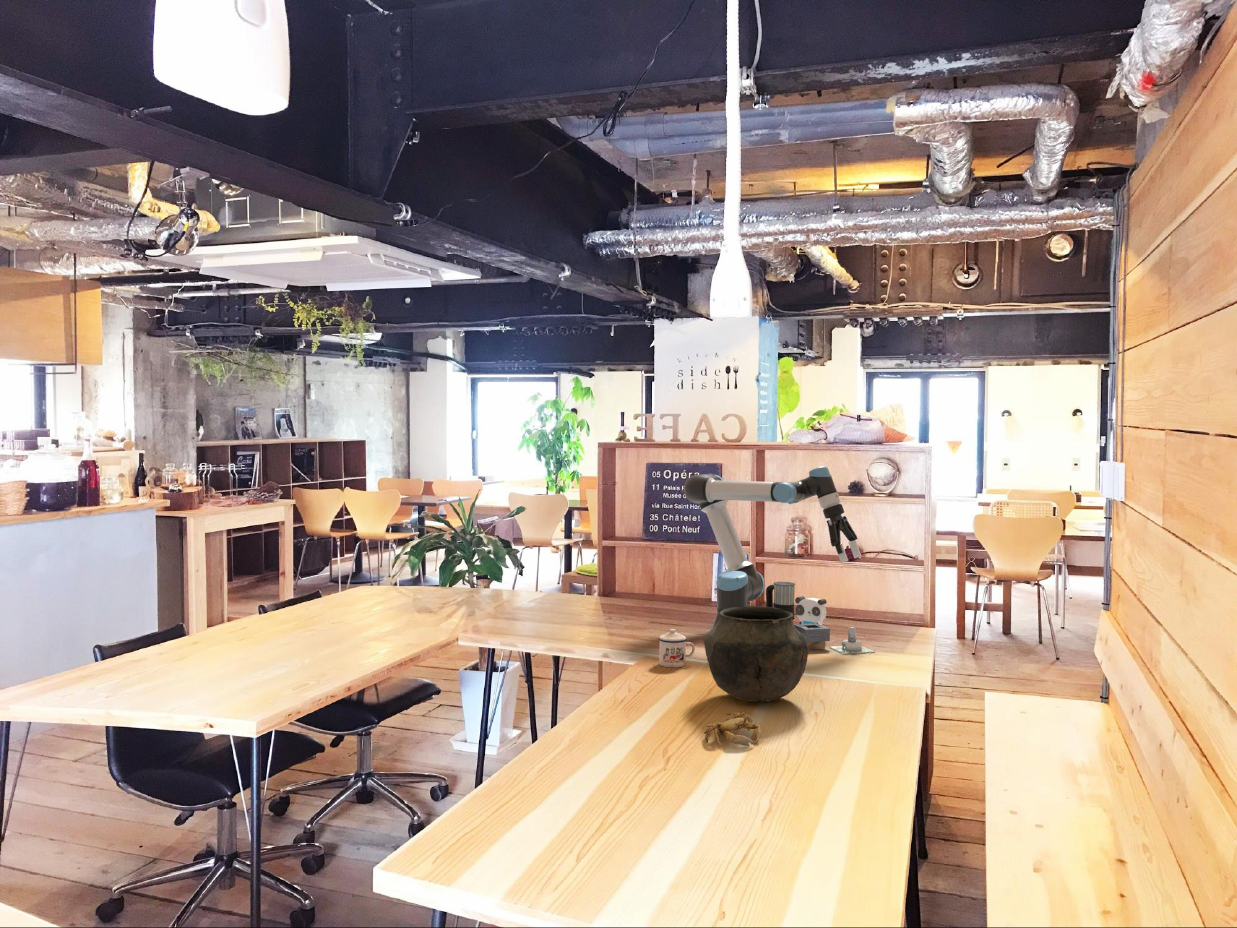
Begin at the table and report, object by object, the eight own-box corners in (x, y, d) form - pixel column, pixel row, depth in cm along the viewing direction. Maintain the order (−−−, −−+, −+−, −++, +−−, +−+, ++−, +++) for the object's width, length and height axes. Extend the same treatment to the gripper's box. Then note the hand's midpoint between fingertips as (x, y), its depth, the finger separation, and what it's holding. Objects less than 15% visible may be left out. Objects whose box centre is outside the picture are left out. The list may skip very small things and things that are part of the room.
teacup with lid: (660, 668, 291) (661, 632, 291) (656, 661, 300) (656, 626, 300) (697, 667, 292) (697, 631, 292) (691, 660, 301) (692, 626, 301)
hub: (844, 654, 313) (844, 631, 313) (829, 647, 324) (829, 625, 324) (875, 652, 316) (875, 629, 316) (858, 645, 327) (859, 624, 327)
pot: (742, 721, 235) (743, 626, 234) (686, 691, 264) (687, 606, 263) (833, 709, 246) (835, 618, 246) (770, 681, 275) (771, 600, 275)
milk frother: (798, 617, 382) (798, 582, 382) (784, 623, 369) (784, 587, 368) (767, 613, 390) (767, 579, 389) (752, 619, 376) (752, 584, 376)
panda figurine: (789, 636, 342) (789, 597, 341) (805, 632, 350) (805, 594, 350) (817, 641, 334) (817, 601, 333) (832, 637, 342) (833, 598, 342)
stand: (807, 649, 320) (807, 634, 320) (798, 645, 327) (798, 630, 327) (824, 648, 322) (825, 633, 322) (815, 644, 329) (815, 629, 328)
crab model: (739, 754, 210) (739, 731, 210) (694, 742, 218) (695, 720, 218) (773, 738, 222) (773, 716, 222) (729, 727, 230) (730, 706, 230)
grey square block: (805, 642, 318) (805, 629, 318) (793, 636, 328) (793, 624, 327) (829, 640, 321) (829, 628, 321) (817, 635, 330) (817, 623, 330)
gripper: (827, 505, 328) (848, 560, 324) (852, 500, 348) (872, 552, 344) (809, 512, 332) (829, 566, 328) (835, 506, 352) (854, 558, 348)
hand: (851, 559), depth 336 cm, fingers open, 13 cm apart
